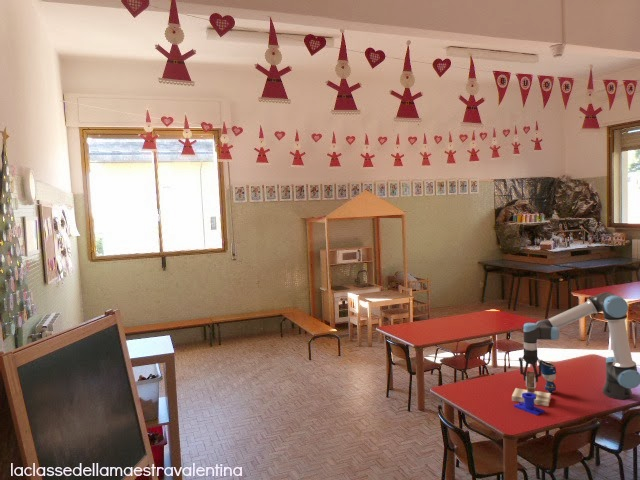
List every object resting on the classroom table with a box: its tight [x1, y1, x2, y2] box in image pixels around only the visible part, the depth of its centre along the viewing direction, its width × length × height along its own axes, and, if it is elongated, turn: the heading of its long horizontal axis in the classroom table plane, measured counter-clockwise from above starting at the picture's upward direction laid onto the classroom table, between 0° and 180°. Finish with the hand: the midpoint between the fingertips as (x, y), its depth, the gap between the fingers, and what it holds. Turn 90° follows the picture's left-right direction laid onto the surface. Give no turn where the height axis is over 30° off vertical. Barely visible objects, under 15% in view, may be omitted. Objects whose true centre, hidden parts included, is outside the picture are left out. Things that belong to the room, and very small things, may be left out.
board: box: [511, 387, 552, 407], centre depth 289 cm, size 20×14×3 cm
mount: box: [513, 393, 546, 416], centre depth 275 cm, size 15×8×9 cm, turn 31°
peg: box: [526, 370, 536, 393], centre depth 289 cm, size 4×4×12 cm
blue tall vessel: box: [541, 360, 557, 394], centre depth 298 cm, size 13×9×20 cm
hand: (530, 386), depth 289 cm, fingers closed on peg, 4 cm apart
